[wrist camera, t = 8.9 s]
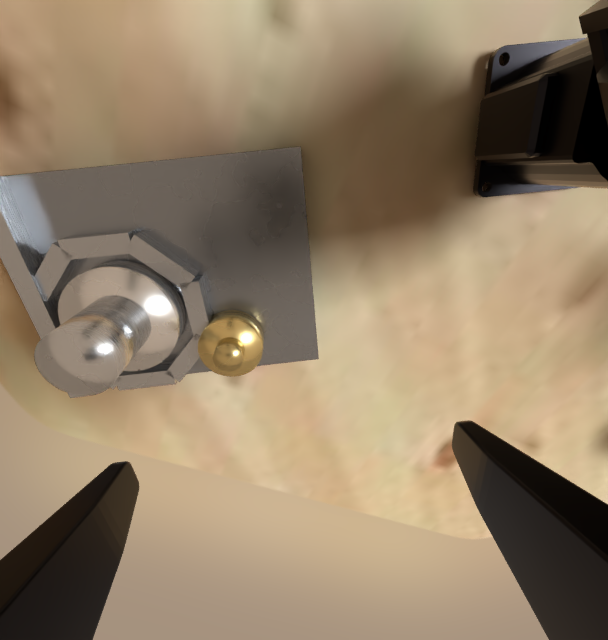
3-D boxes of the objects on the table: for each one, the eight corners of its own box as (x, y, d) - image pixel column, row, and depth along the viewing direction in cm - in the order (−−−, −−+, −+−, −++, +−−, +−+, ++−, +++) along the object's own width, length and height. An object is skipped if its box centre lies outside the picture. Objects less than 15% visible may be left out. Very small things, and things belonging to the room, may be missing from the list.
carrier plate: (299, 147, 16) (304, 142, 13) (316, 350, 22) (323, 382, 18) (0, 177, 16) (-68, 179, 13) (89, 376, 21) (56, 412, 18)
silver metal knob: (170, 255, 17) (125, 289, 12) (196, 351, 20) (167, 412, 15) (56, 266, 17) (-35, 306, 12) (97, 362, 20) (35, 427, 15)
